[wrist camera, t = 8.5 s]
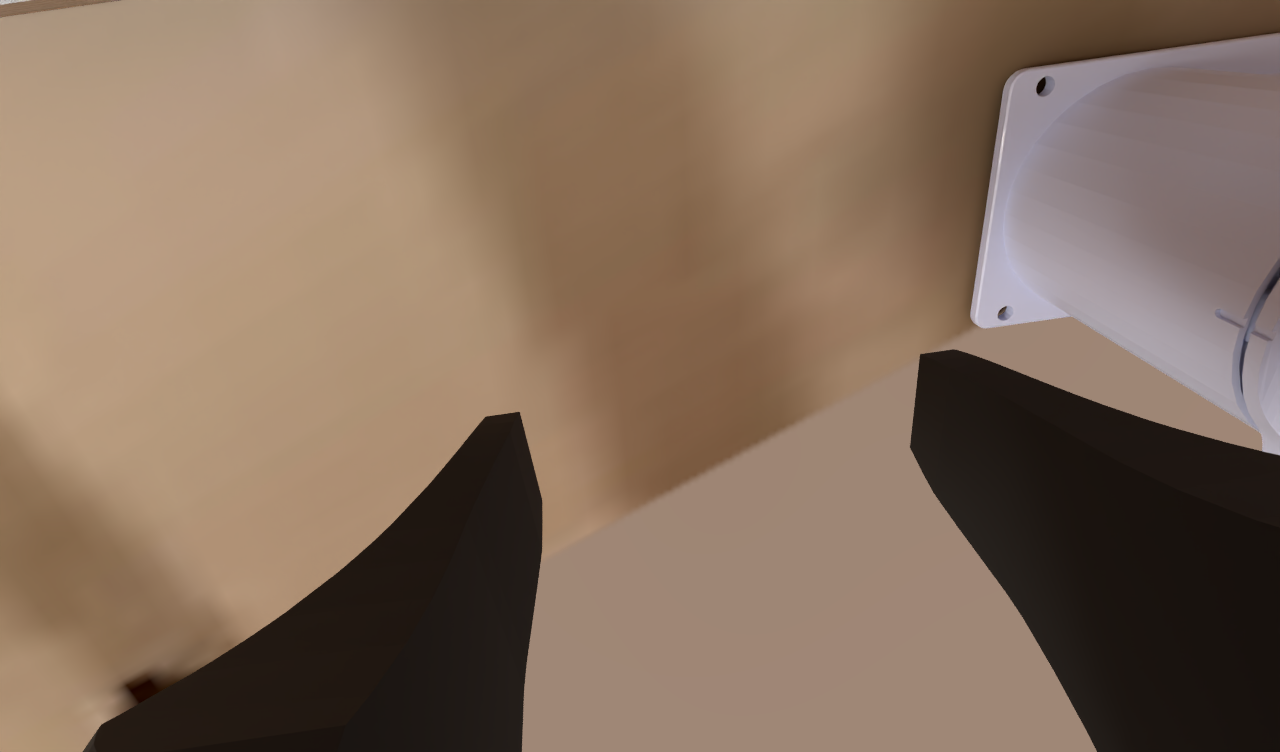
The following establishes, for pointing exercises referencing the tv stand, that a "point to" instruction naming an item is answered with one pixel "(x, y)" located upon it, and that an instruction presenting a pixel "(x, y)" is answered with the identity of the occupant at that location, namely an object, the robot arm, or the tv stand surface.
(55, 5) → the grey rectangular holder
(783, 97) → the tv stand surface
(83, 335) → the tv stand surface
